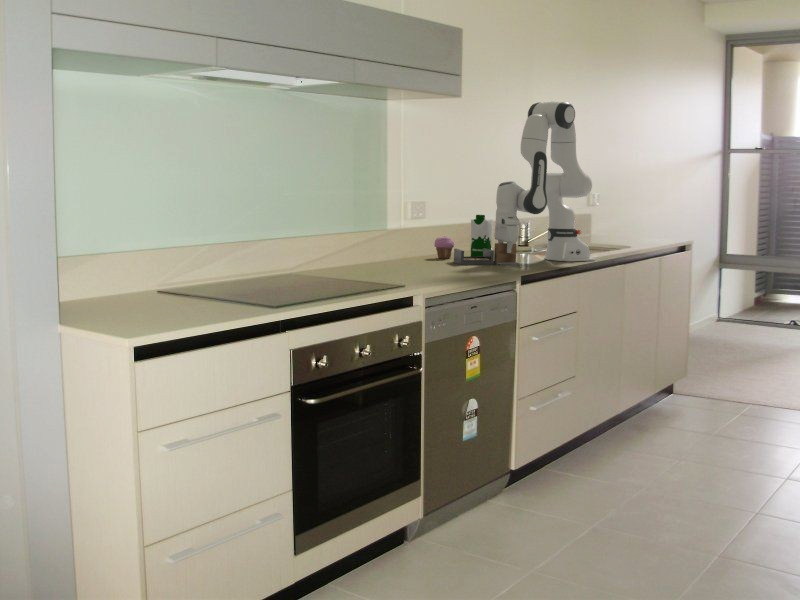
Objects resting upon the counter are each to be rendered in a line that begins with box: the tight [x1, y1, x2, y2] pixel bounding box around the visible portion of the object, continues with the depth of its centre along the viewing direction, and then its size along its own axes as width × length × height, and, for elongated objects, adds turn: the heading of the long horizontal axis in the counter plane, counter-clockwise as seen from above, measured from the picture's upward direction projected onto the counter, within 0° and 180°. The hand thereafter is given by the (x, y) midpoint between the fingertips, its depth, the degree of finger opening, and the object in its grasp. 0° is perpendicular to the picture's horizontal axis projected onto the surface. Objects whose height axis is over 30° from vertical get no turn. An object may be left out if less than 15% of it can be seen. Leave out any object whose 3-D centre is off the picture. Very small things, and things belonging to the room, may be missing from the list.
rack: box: [453, 248, 495, 266], centre depth 377 cm, size 14×11×6 cm
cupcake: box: [434, 236, 455, 260], centre depth 397 cm, size 9×9×10 cm
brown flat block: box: [493, 242, 517, 262], centre depth 380 cm, size 9×2×8 cm, turn 102°
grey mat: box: [494, 261, 520, 265], centre depth 380 cm, size 10×9×1 cm
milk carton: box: [470, 214, 494, 256], centre depth 395 cm, size 9×9×20 cm
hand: (505, 251), depth 380 cm, fingers open, 8 cm apart
